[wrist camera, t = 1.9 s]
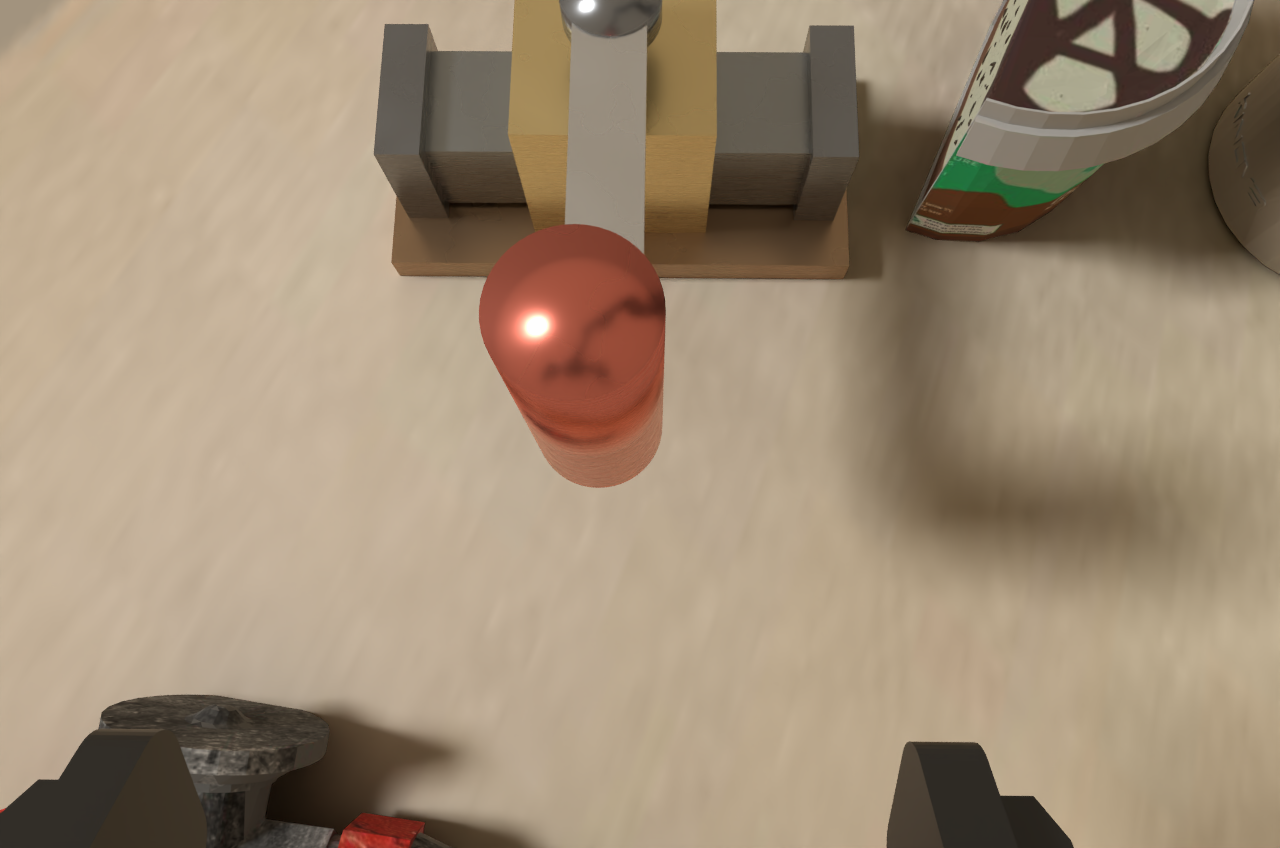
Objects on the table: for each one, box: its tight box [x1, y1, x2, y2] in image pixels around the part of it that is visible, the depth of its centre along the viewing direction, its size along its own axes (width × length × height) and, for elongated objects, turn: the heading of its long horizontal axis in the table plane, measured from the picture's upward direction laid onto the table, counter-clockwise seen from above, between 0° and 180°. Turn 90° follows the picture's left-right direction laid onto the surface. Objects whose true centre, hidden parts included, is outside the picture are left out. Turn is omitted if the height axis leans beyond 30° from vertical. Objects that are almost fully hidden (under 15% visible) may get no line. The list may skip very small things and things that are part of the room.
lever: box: [479, 0, 666, 488], centre depth 22 cm, size 15×3×9 cm, turn 179°
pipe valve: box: [374, 0, 859, 279], centre depth 32 cm, size 16×8×9 cm, turn 89°
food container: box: [906, 0, 1254, 242], centre depth 32 cm, size 12×6×10 cm, turn 156°
